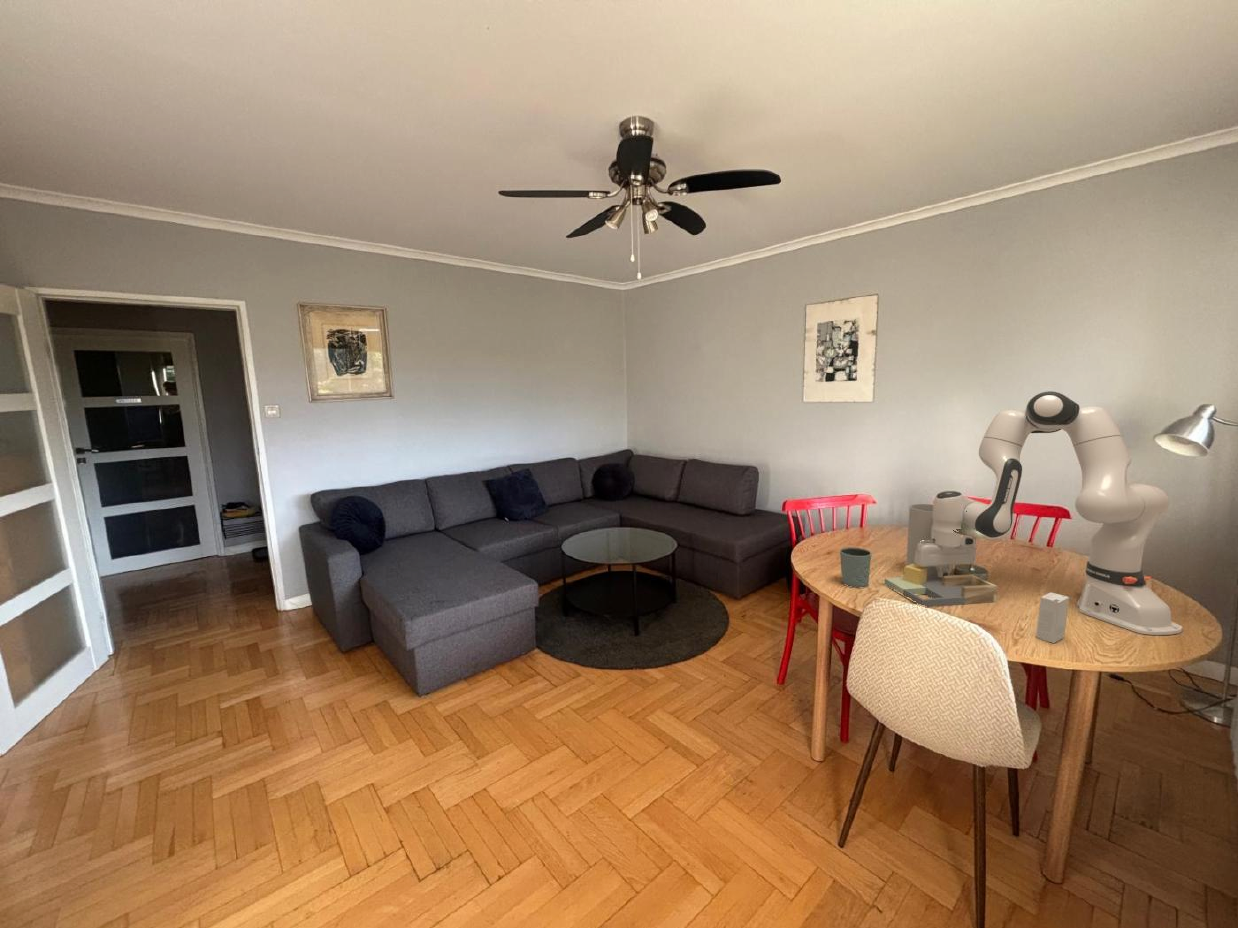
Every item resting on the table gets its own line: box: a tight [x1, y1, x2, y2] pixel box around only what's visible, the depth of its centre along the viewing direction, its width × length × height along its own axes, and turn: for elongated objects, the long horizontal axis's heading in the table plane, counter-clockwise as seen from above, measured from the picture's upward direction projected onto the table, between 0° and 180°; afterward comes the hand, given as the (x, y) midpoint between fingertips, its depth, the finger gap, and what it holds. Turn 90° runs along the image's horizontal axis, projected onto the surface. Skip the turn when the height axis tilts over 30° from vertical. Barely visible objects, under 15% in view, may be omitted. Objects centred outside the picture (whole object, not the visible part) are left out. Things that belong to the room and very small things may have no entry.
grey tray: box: [884, 573, 997, 608], centre depth 167 cm, size 19×26×2 cm
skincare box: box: [1035, 592, 1070, 644], centre depth 135 cm, size 6×4×12 cm
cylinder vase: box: [905, 503, 946, 575], centre depth 183 cm, size 12×12×25 cm
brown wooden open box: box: [942, 573, 998, 605], centre depth 163 cm, size 10×11×5 cm
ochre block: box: [903, 564, 927, 585], centre depth 172 cm, size 5×5×5 cm
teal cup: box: [839, 546, 872, 588], centre depth 177 cm, size 10×10×12 cm
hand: (943, 576), depth 172 cm, fingers closed
